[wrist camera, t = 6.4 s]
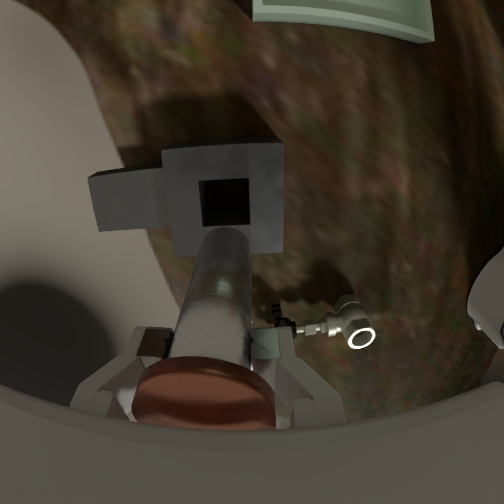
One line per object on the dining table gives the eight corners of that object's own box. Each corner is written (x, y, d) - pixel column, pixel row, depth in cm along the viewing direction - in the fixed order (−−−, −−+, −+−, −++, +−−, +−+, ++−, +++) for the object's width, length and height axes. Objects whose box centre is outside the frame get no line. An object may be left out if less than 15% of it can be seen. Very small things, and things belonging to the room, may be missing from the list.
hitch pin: (263, 214, 16) (279, 385, 7) (263, 280, 18) (274, 451, 9) (184, 216, 16) (110, 377, 7) (193, 282, 18) (154, 445, 9)
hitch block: (276, 136, 27) (283, 142, 23) (277, 230, 32) (283, 252, 27) (94, 154, 27) (71, 164, 22) (111, 238, 31) (93, 260, 27)
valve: (363, 281, 36) (270, 293, 36) (382, 314, 30) (275, 331, 30) (358, 320, 39) (273, 332, 39) (373, 353, 33) (278, 369, 33)
